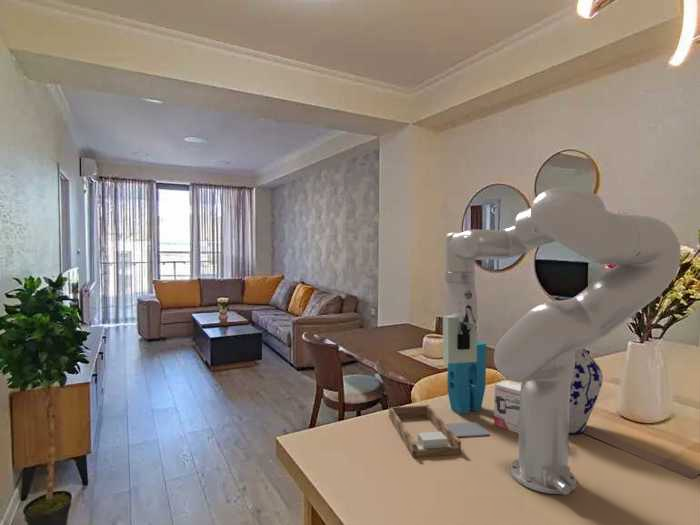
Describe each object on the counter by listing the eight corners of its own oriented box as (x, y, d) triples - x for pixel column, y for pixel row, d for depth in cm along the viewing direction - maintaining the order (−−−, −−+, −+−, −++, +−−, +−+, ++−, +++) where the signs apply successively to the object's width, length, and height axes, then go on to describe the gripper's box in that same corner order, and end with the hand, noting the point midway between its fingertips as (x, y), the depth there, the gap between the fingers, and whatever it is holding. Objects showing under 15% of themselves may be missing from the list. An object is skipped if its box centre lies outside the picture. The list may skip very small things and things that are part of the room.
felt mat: (489, 435, 107) (489, 433, 107) (449, 438, 106) (449, 436, 106) (476, 423, 115) (476, 422, 115) (439, 425, 113) (439, 424, 113)
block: (474, 402, 130) (475, 340, 130) (486, 408, 126) (487, 343, 125) (445, 409, 124) (446, 344, 124) (457, 415, 120) (458, 348, 119)
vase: (610, 447, 101) (613, 326, 100) (526, 435, 108) (529, 321, 107) (592, 417, 119) (594, 315, 118) (521, 409, 126) (523, 311, 125)
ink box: (493, 425, 114) (493, 383, 113) (501, 420, 117) (502, 379, 117) (523, 435, 108) (524, 391, 107) (531, 430, 111) (532, 386, 111)
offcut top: (447, 446, 98) (447, 438, 98) (423, 448, 97) (423, 440, 97) (440, 439, 102) (440, 431, 102) (417, 441, 101) (417, 433, 101)
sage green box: (476, 361, 108) (476, 316, 108) (448, 363, 107) (448, 317, 107) (470, 358, 112) (470, 314, 112) (442, 360, 110) (442, 315, 110)
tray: (460, 454, 98) (460, 441, 97) (412, 457, 96) (413, 444, 96) (428, 415, 120) (428, 405, 120) (389, 417, 119) (389, 407, 118)
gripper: (489, 280, 102) (489, 354, 102) (459, 277, 118) (459, 340, 118) (460, 280, 100) (460, 355, 100) (434, 277, 116) (434, 341, 117)
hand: (460, 346), depth 109 cm, fingers closed on sage green box, 3 cm apart
